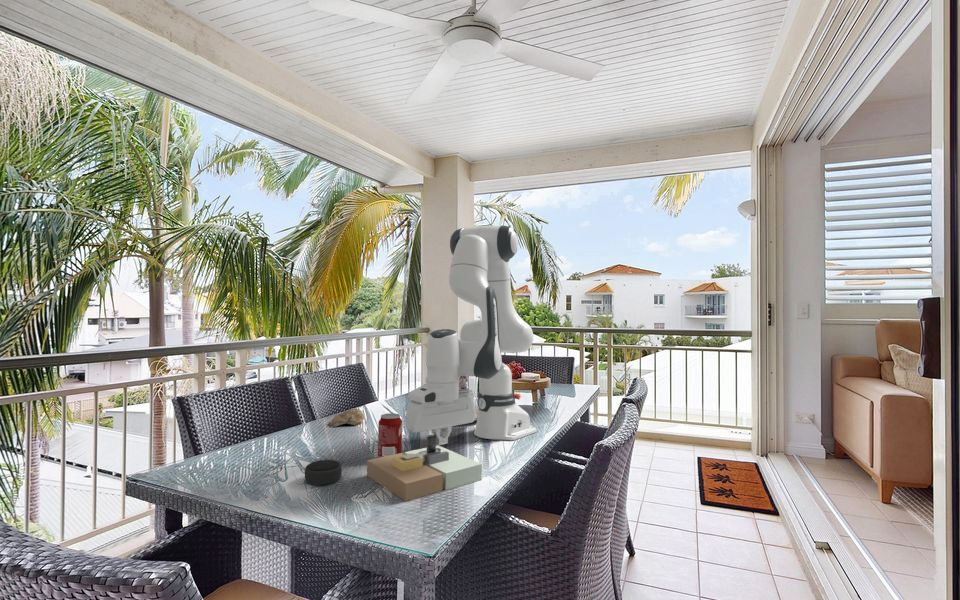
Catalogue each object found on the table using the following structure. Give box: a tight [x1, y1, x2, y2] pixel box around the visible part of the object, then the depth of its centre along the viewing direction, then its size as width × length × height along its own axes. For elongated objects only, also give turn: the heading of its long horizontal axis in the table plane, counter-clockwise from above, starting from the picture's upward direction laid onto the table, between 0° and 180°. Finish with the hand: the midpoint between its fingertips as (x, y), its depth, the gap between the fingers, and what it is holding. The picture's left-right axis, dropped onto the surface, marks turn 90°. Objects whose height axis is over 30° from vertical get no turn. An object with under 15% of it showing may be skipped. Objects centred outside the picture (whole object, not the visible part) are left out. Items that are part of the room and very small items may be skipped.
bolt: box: [402, 434, 440, 463], centre depth 125 cm, size 10×2×6 cm, turn 129°
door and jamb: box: [366, 445, 483, 502], centre depth 125 cm, size 22×20×6 cm
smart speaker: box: [304, 459, 343, 486], centre depth 123 cm, size 9×9×4 cm
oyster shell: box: [328, 407, 366, 428], centre depth 178 cm, size 10×12×5 cm
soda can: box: [377, 412, 403, 458], centre depth 141 cm, size 7×7×12 cm
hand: (441, 444), depth 128 cm, fingers closed
